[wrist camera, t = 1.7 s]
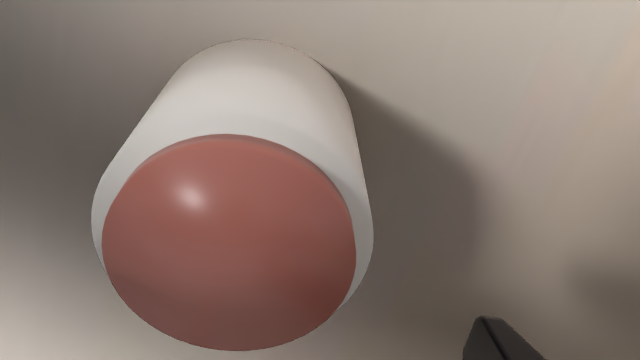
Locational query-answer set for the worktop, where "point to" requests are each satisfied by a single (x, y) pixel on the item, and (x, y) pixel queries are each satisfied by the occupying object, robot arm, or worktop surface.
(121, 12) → the worktop surface
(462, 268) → the worktop surface
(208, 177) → the cap
